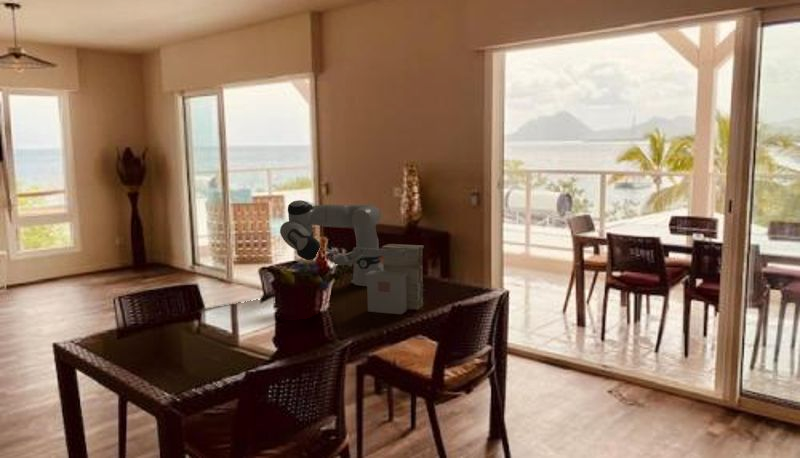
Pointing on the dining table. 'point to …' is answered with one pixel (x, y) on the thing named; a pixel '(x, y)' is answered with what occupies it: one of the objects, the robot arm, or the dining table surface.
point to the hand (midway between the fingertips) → (362, 249)
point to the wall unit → (408, 271)
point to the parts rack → (386, 292)
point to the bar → (381, 252)
